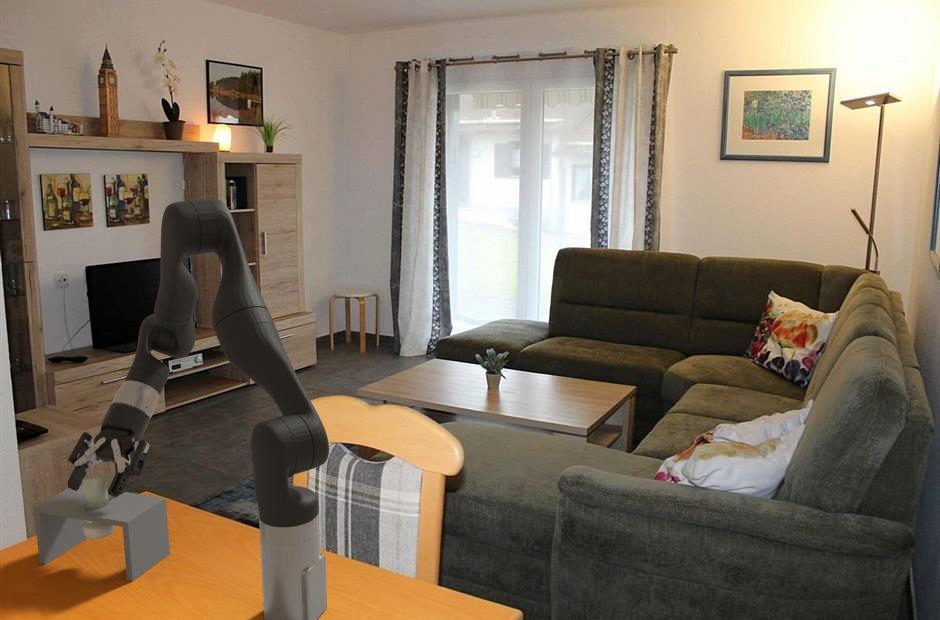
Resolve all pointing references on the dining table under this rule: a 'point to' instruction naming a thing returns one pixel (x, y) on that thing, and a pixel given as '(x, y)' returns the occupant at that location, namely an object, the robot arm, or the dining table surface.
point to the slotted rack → (131, 511)
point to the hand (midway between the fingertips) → (91, 492)
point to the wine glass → (96, 505)
